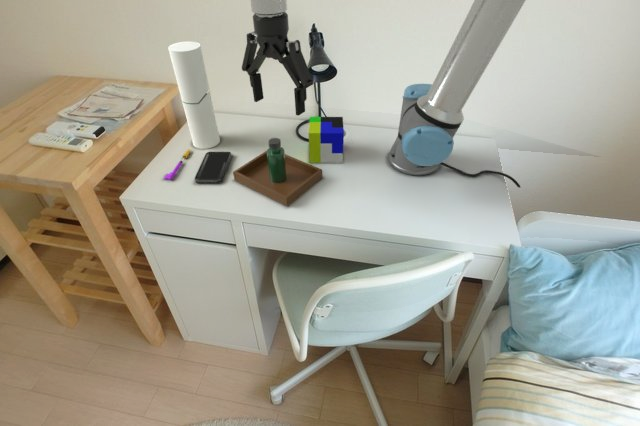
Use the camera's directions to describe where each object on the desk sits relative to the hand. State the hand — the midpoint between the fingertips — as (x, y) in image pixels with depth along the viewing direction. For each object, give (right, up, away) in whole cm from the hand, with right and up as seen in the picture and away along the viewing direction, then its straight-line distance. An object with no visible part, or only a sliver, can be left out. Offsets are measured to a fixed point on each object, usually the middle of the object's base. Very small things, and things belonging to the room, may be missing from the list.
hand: (279, 106), depth 94 cm
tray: (-2, -17, +13) cm, 22 cm away
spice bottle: (-2, -17, +13) cm, 21 cm away
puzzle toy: (+12, -8, +23) cm, 28 cm away
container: (-27, -3, +29) cm, 40 cm away
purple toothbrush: (-32, -12, +19) cm, 40 cm away
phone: (-21, -14, +18) cm, 31 cm away
